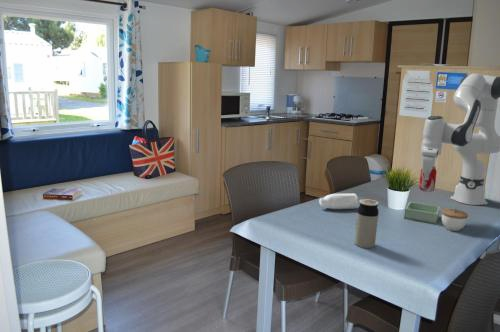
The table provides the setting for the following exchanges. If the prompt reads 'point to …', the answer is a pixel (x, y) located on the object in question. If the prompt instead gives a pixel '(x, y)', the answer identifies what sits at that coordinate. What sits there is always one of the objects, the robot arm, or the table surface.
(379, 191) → the table surface
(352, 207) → the white bottle
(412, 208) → the serving tub
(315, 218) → the table surface
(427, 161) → the robot arm
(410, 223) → the table surface
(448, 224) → the lidded jar
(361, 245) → the travel mug
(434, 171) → the soda can
